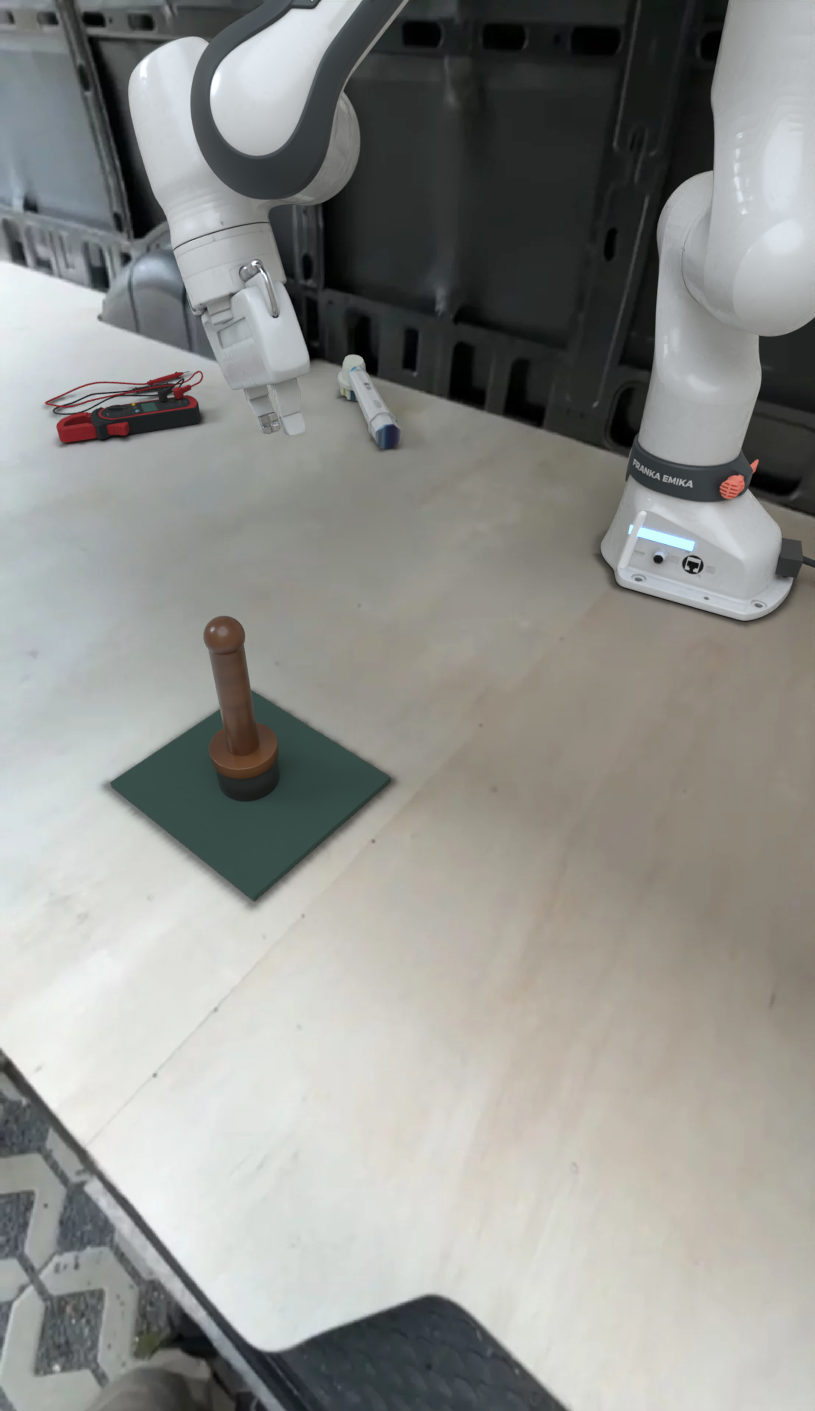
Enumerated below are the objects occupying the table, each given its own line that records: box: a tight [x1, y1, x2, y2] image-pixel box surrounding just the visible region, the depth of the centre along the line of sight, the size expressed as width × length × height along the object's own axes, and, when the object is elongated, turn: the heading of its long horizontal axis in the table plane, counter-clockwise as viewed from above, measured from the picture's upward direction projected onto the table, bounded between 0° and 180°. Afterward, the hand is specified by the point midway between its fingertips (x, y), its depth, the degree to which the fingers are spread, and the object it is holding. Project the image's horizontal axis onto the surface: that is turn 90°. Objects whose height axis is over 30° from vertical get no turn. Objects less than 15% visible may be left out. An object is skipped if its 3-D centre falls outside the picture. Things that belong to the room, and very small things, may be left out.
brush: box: [202, 615, 280, 801], centre depth 63 cm, size 6×6×17 cm
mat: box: [109, 689, 392, 902], centre depth 68 cm, size 18×16×1 cm
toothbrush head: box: [337, 354, 402, 450], centre depth 126 cm, size 5×7×25 cm
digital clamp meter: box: [44, 370, 204, 444], centre depth 127 cm, size 23×4×25 cm
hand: (283, 433), depth 76 cm, fingers open, 8 cm apart
